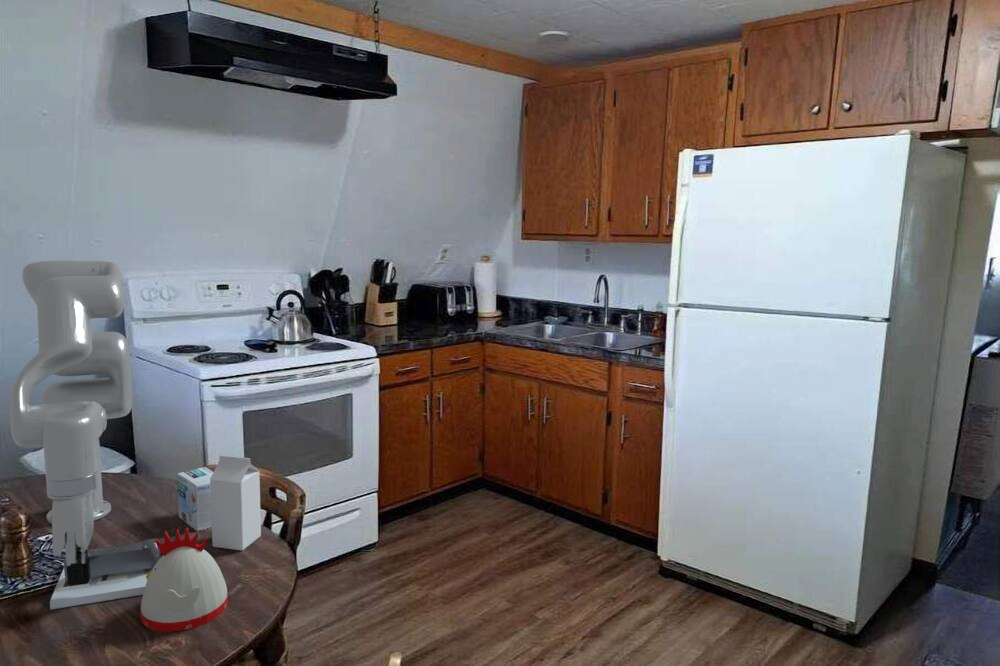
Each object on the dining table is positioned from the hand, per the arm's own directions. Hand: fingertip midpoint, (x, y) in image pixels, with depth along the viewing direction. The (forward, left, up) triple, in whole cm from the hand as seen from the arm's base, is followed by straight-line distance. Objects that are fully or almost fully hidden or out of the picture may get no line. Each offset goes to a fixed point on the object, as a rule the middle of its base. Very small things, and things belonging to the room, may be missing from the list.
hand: (79, 582), depth 119 cm
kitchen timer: (+8, +17, -4) cm, 19 cm away
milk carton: (-16, +26, -4) cm, 31 cm away
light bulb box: (-30, +19, -4) cm, 36 cm away
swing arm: (-6, +5, -2) cm, 8 cm away
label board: (-8, +3, -4) cm, 9 cm away
